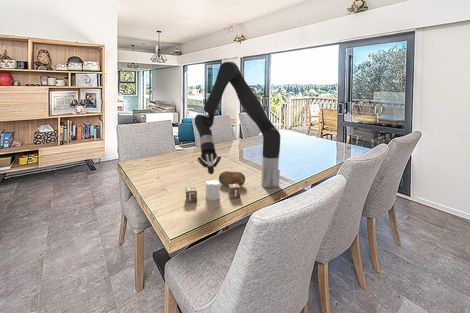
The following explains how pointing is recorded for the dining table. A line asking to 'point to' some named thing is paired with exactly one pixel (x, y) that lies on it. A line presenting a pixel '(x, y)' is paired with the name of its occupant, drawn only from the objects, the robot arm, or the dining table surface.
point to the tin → (231, 178)
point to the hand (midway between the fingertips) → (211, 173)
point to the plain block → (212, 190)
